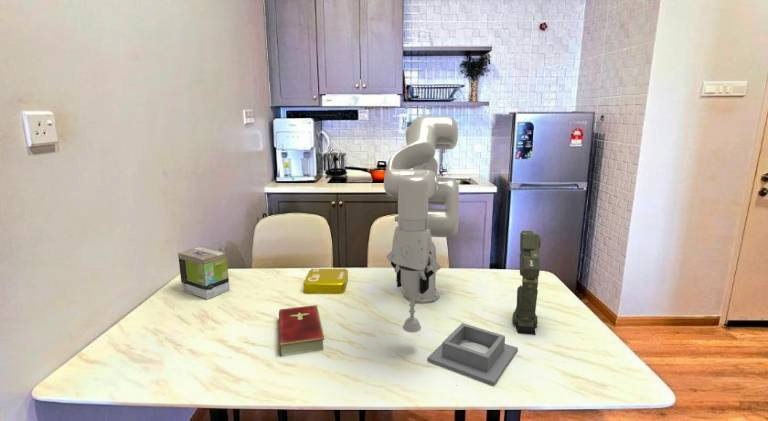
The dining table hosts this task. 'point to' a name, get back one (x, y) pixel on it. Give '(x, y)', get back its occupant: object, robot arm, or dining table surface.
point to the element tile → (326, 281)
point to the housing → (474, 353)
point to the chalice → (411, 295)
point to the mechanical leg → (527, 284)
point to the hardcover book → (300, 330)
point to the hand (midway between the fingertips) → (412, 288)
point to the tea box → (204, 272)
